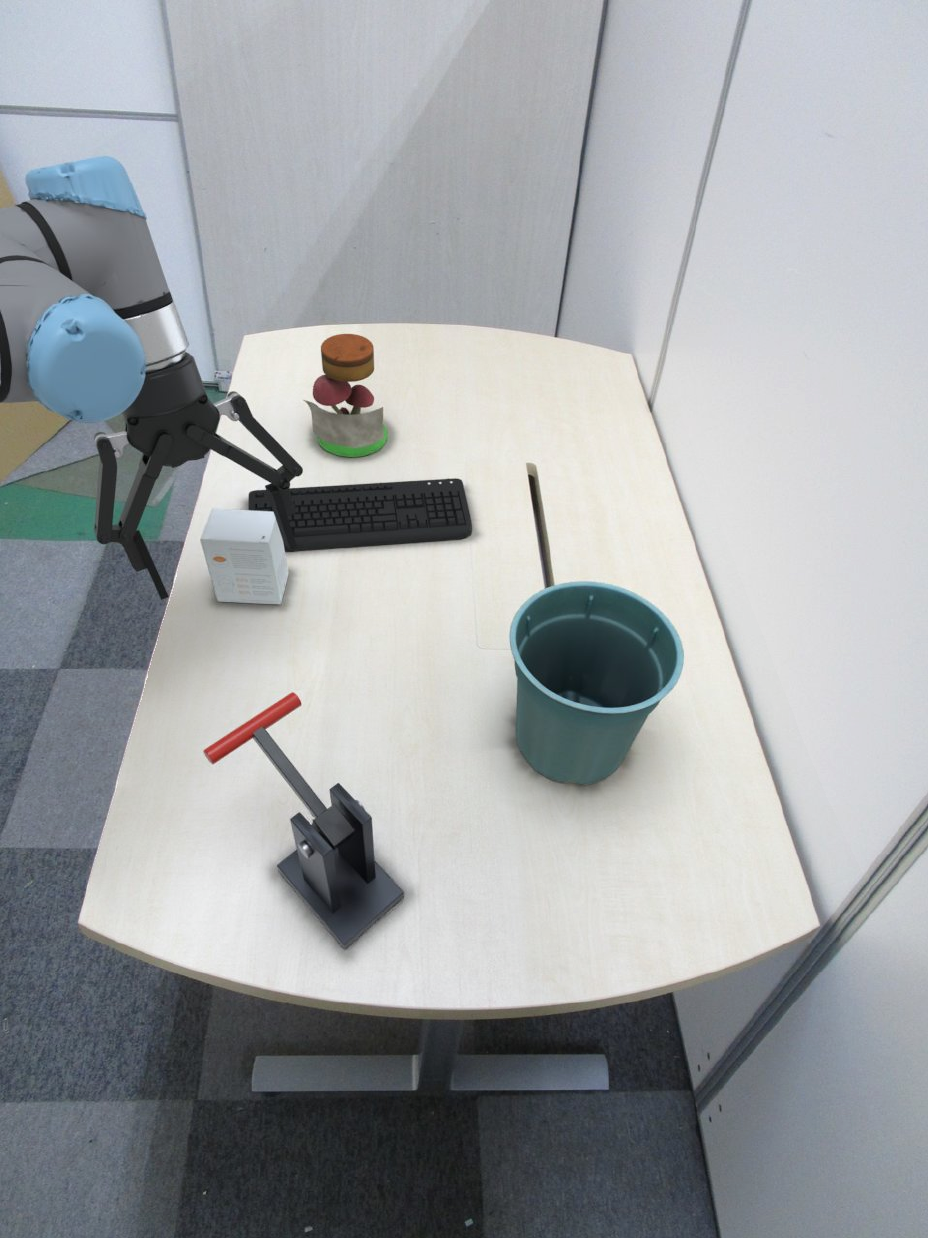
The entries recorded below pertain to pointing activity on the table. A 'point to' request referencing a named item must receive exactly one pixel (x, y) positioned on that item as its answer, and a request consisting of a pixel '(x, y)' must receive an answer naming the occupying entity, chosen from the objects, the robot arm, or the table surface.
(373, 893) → the bracket
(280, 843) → the table surface
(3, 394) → the robot arm
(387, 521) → the keyboard
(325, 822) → the lever
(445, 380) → the table surface
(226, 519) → the small box
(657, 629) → the flower pot
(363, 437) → the multicoloured stacked piece
